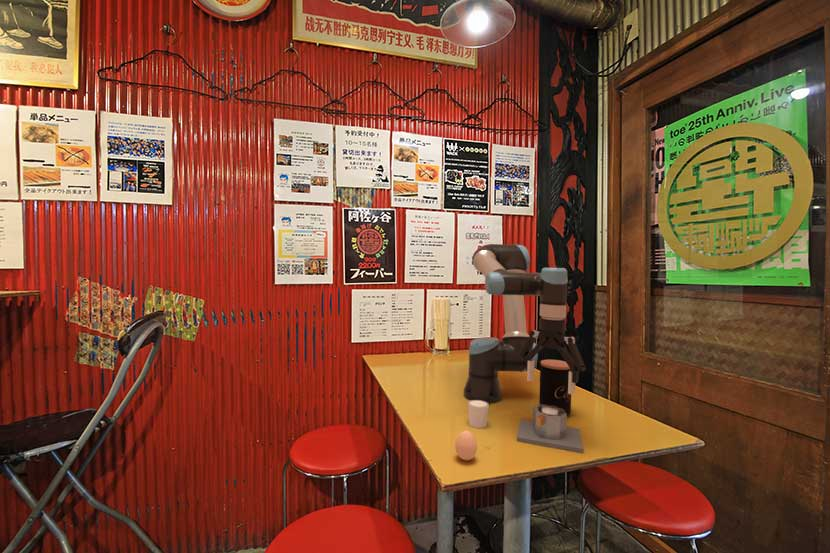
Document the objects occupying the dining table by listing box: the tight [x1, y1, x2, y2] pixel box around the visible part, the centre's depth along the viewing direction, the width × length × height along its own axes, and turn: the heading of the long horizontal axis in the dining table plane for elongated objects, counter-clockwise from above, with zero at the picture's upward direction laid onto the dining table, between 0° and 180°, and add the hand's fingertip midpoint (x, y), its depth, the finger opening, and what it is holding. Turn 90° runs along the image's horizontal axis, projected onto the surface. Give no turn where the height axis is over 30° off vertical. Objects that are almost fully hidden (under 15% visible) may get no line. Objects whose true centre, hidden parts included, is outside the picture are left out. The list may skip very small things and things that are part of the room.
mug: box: [532, 404, 567, 440], centre depth 109 cm, size 10×9×7 cm
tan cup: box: [467, 400, 490, 429], centre depth 117 cm, size 7×7×7 cm
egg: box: [454, 430, 478, 461], centre depth 95 cm, size 6×6×8 cm
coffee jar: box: [538, 359, 572, 418], centre depth 128 cm, size 11×11×18 cm
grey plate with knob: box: [516, 407, 584, 454], centre depth 109 cm, size 18×14×8 cm
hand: (549, 386), depth 110 cm, fingers open, 13 cm apart
